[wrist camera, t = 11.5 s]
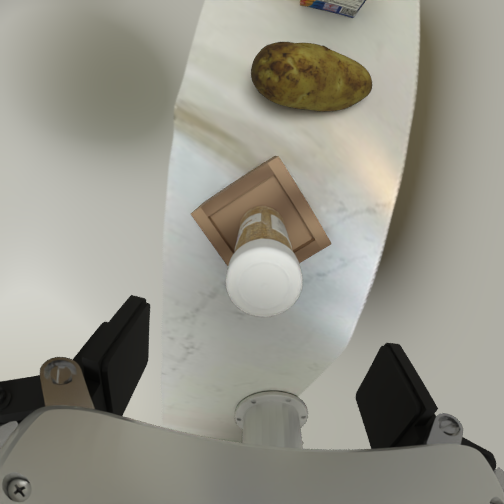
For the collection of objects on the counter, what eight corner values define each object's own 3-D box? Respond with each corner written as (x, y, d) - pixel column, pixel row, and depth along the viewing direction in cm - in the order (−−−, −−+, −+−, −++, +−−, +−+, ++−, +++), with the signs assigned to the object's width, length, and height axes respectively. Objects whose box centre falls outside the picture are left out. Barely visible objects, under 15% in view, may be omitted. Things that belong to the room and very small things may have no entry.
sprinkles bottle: (237, 207, 29) (220, 250, 16) (284, 203, 29) (303, 245, 16) (241, 251, 31) (228, 321, 18) (286, 248, 30) (303, 317, 18)
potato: (349, 137, 32) (373, 133, 25) (245, 100, 31) (240, 85, 24) (368, 78, 30) (394, 61, 22) (267, 41, 29) (268, 13, 21)
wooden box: (318, 226, 36) (331, 243, 29) (249, 268, 38) (247, 293, 31) (275, 155, 33) (278, 156, 27) (203, 202, 35) (190, 213, 29)
